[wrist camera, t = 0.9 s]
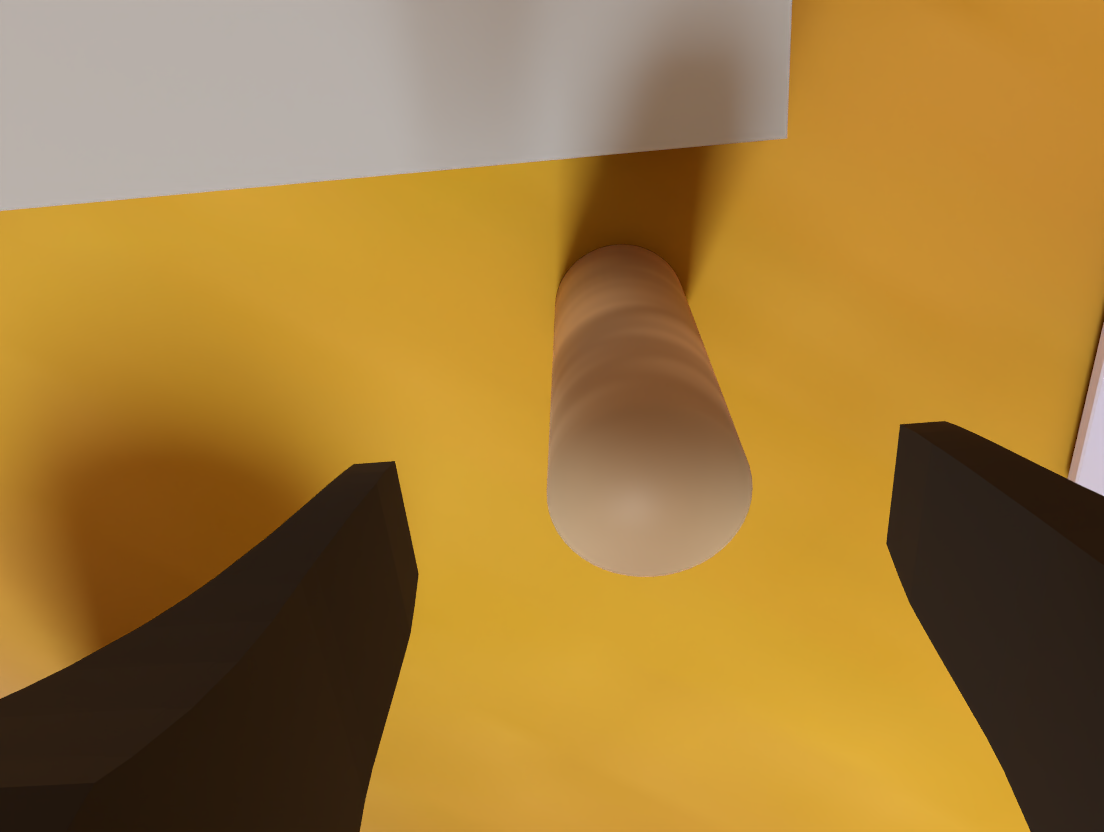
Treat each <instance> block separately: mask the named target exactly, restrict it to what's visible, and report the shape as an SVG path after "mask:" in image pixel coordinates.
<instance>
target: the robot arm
mask: <svg viewBox="0 0 1104 832" xmlns="http://www.w3.org/2000/svg"><path fill="white" fill-rule="evenodd" d="M886 544H887V547H888V549H889V552H890V555H891V557H892V560H893V563H894V565H895V568H896V571H897V573H898V576H899V578H900V581H901V583H902V586H903V588H904V591H905V593H906V595H907V598H908V600H909V603H910V605H911V606H912V608H913V610H914V612H915V614H916V616H917V617H918V619H919V621H920V623H921V624H922V626H923V628H924V630H925V632H926V633H927V635H928V637H929V639H930V640H931V642H932V644H933V646H934V647H935V649H936V651H937V653H938V654H939V656H940V658H941V660H942V661H943V663H944V665H945V666H946V668H947V670H948V672H949V673H950V675H951V677H952V679H953V680H954V682H955V684H956V685H957V687H958V689H959V691H960V692H961V694H962V696H963V698H964V699H965V701H966V703H967V704H968V706H969V708H970V710H971V711H972V713H973V715H974V717H975V718H976V720H977V722H978V723H979V725H980V727H981V729H982V730H983V732H984V734H985V736H986V737H987V739H988V741H989V743H990V745H991V747H992V749H993V751H994V753H995V755H996V756H997V758H998V760H999V762H1000V764H1001V766H1002V768H1003V770H1004V772H1005V774H1006V777H1007V779H1008V781H1009V784H1010V786H1011V788H1012V790H1013V793H1014V795H1015V797H1016V799H1017V802H1018V804H1019V806H1020V808H1021V811H1022V813H1023V815H1024V817H1025V820H1026V822H1027V824H1028V826H1029V829H1030V831H1031V832H1104V324H1103V328H1102V332H1101V337H1100V341H1099V345H1098V350H1097V354H1096V358H1095V363H1094V367H1093V371H1092V376H1091V380H1090V384H1089V389H1088V393H1087V397H1086V402H1085V406H1084V410H1083V415H1082V419H1081V423H1080V428H1079V432H1078V436H1077V441H1076V445H1075V449H1074V454H1073V458H1072V462H1071V467H1070V471H1069V475H1068V479H1067V478H1064V477H1062V476H1060V475H1058V474H1056V473H1054V472H1052V471H1050V470H1048V469H1046V468H1044V467H1042V466H1040V465H1038V464H1036V463H1034V462H1032V461H1030V460H1028V459H1026V458H1024V457H1022V456H1020V455H1018V454H1016V453H1014V452H1012V451H1010V450H1008V449H1006V448H1004V447H1002V446H1000V445H998V444H996V443H994V442H992V441H990V440H987V439H985V438H983V437H981V436H979V435H977V434H975V433H973V432H970V431H968V430H966V429H964V428H961V427H959V426H957V425H954V424H951V423H949V422H946V421H941V422H927V423H913V424H900V431H899V440H898V448H897V457H896V465H895V474H894V483H893V491H892V500H891V508H890V517H889V526H888V534H887V543H886ZM417 582H418V569H417V564H416V560H415V555H414V550H413V545H412V541H411V536H410V531H409V526H408V522H407V517H406V512H405V507H404V503H403V498H402V493H401V488H400V484H399V479H398V474H397V469H396V465H395V461H392V462H378V463H364V464H354V465H352V466H351V467H349V468H348V469H347V470H345V471H344V472H343V473H342V474H340V475H339V476H338V477H337V478H336V479H334V480H333V481H332V482H331V483H330V484H328V485H327V486H326V487H325V488H324V489H323V490H322V491H320V492H319V493H318V494H317V495H316V496H315V497H314V498H312V499H311V500H310V501H309V502H308V503H307V504H306V505H304V506H303V507H302V508H301V509H300V510H298V511H297V512H296V513H295V514H294V515H293V516H291V517H290V518H289V519H288V520H287V521H286V522H284V523H283V524H282V525H281V526H280V527H279V528H277V529H276V530H275V531H274V532H273V533H272V534H270V535H269V536H268V537H267V538H265V539H264V540H263V541H262V542H260V543H259V544H258V545H256V546H255V547H254V548H253V549H251V550H250V551H249V552H247V553H246V554H245V555H244V556H242V557H241V558H240V559H238V560H237V561H236V562H235V563H233V564H232V565H231V566H229V567H228V568H227V569H226V570H224V571H223V572H222V573H220V574H219V575H218V576H217V577H215V578H214V579H212V580H211V581H210V582H208V583H207V584H205V585H204V586H203V587H201V588H200V589H198V590H197V591H195V592H194V593H192V594H191V595H190V596H188V597H187V598H185V599H184V600H182V601H180V602H179V603H177V604H176V605H174V606H173V607H171V608H170V609H168V610H166V611H165V612H163V613H162V614H160V615H159V616H157V617H156V618H154V619H152V620H151V621H149V622H147V623H146V624H144V625H142V626H141V627H139V628H137V629H136V630H134V631H132V632H130V633H128V634H127V635H125V636H123V637H121V638H119V639H118V640H116V641H114V642H112V643H110V644H109V645H107V646H105V647H103V648H101V649H99V650H98V651H96V652H94V653H92V654H90V655H89V656H87V657H85V658H83V659H81V660H80V661H78V662H76V663H74V664H72V665H70V666H68V667H66V668H64V669H63V670H61V671H59V672H56V673H54V674H52V675H50V676H48V677H46V678H44V679H42V680H40V681H38V682H36V683H34V684H32V685H30V686H28V687H26V688H23V689H21V690H19V691H17V692H15V693H12V694H10V695H8V696H6V697H4V698H1V699H0V832H360V826H361V820H362V815H363V809H364V803H365V798H366V794H367V790H368V786H369V781H370V777H371V773H372V769H373V765H374V762H375V758H376V755H377V751H378V748H379V744H380V741H381V737H382V734H383V730H384V726H385V723H386V719H387V716H388V712H389V709H390V705H391V702H392V698H393V695H394V691H395V688H396V684H397V681H398V677H399V674H400V670H401V666H402V663H403V659H404V656H405V652H406V648H407V645H408V641H409V637H410V633H411V626H412V620H413V613H414V606H415V598H416V590H417Z"/></svg>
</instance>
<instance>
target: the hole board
mask: <svg viewBox="0 0 1104 832" xmlns="http://www.w3.org/2000/svg"><path fill="white" fill-rule="evenodd" d="M791 16H792V0H0V211H3V210H14V209H25V208H36V207H47V206H58V205H68V204H79V203H90V202H101V201H112V200H123V199H133V198H144V197H155V196H166V195H177V194H188V193H199V192H209V191H220V190H231V189H242V188H253V187H264V186H275V185H285V184H296V183H307V182H318V181H329V180H340V179H350V178H361V177H372V176H383V175H394V174H405V173H416V172H426V171H437V170H448V169H459V168H470V167H481V166H492V165H502V164H513V163H524V162H535V161H546V160H557V159H567V158H578V157H589V156H600V155H611V154H622V153H633V152H643V151H654V150H665V149H676V148H687V147H698V146H709V145H719V144H730V143H741V142H752V141H763V140H774V139H785V138H787V123H788V96H789V69H790V42H791Z"/></svg>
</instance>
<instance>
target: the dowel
mask: <svg viewBox="0 0 1104 832" xmlns="http://www.w3.org/2000/svg"><path fill="white" fill-rule="evenodd" d="M751 497H752V476H751V471H750V467H749V464H748V461H747V458H746V456H745V453H744V450H743V448H742V445H741V442H740V440H739V437H738V435H737V432H736V429H735V427H734V424H733V421H732V419H731V416H730V413H729V411H728V408H727V405H726V403H725V400H724V397H723V395H722V392H721V389H720V387H719V384H718V381H717V379H716V376H715V374H714V371H713V368H712V366H711V363H710V360H709V358H708V355H707V352H706V350H705V347H704V344H703V342H702V339H701V336H700V334H699V331H698V328H697V326H696V323H695V321H694V318H693V315H692V313H691V310H690V307H689V305H688V302H687V299H686V297H685V294H684V291H683V289H682V286H681V284H680V281H679V279H678V277H677V275H676V273H675V272H674V270H673V269H672V268H671V266H670V265H669V264H668V263H667V262H666V261H665V260H664V259H662V258H661V257H660V256H658V255H657V254H655V253H653V252H652V251H650V250H647V249H645V248H642V247H638V246H634V245H625V244H622V245H610V246H605V247H602V248H598V249H596V250H594V251H591V252H590V253H588V254H586V255H584V256H583V257H582V258H580V259H579V260H578V261H576V262H575V263H574V264H573V265H572V267H571V268H570V269H569V270H568V271H567V273H566V274H565V276H564V278H563V279H562V281H561V283H560V286H559V288H558V292H557V296H556V303H555V323H554V345H553V367H552V389H551V412H550V434H549V456H548V478H547V503H548V508H549V513H550V516H551V519H552V522H553V524H554V526H555V528H556V530H557V532H558V534H559V535H560V536H561V538H562V539H563V540H564V542H565V543H566V544H567V545H568V546H569V547H570V548H571V549H572V550H573V551H574V552H575V553H577V554H578V555H579V556H580V557H582V558H583V559H585V560H586V561H588V562H590V563H591V564H593V565H595V566H597V567H600V568H602V569H604V570H607V571H611V572H614V573H618V574H622V575H627V576H637V577H654V576H663V575H669V574H673V573H678V572H681V571H684V570H687V569H690V568H692V567H694V566H696V565H699V564H701V563H703V562H704V561H706V560H708V559H709V558H711V557H712V556H714V555H715V554H716V553H718V552H719V551H720V550H722V549H723V548H724V547H725V546H726V545H727V544H728V543H729V542H730V541H731V540H732V538H733V537H734V536H735V535H736V533H737V532H738V530H739V529H740V527H741V525H742V524H743V522H744V520H745V518H746V515H747V513H748V510H749V506H750V503H751Z"/></svg>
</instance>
